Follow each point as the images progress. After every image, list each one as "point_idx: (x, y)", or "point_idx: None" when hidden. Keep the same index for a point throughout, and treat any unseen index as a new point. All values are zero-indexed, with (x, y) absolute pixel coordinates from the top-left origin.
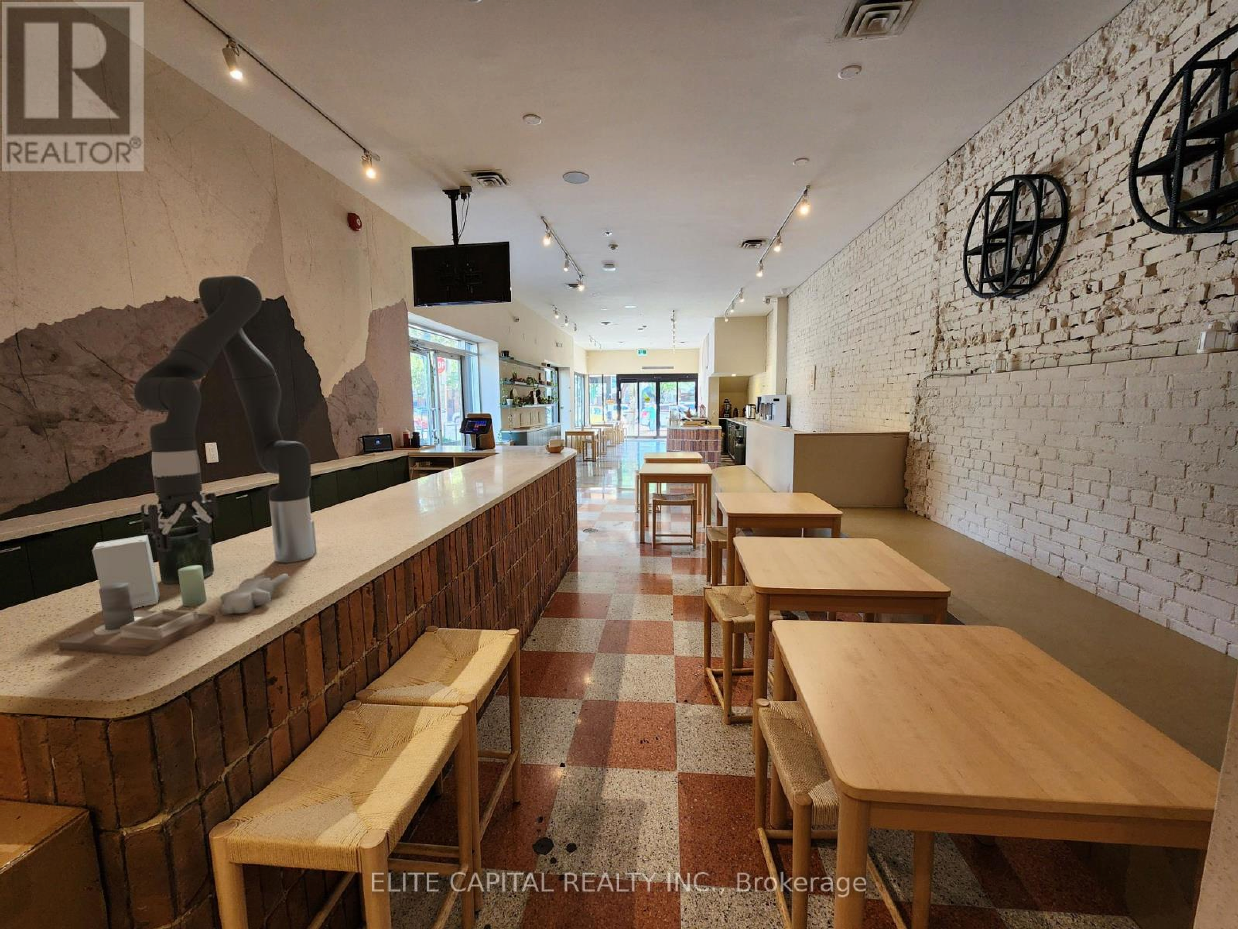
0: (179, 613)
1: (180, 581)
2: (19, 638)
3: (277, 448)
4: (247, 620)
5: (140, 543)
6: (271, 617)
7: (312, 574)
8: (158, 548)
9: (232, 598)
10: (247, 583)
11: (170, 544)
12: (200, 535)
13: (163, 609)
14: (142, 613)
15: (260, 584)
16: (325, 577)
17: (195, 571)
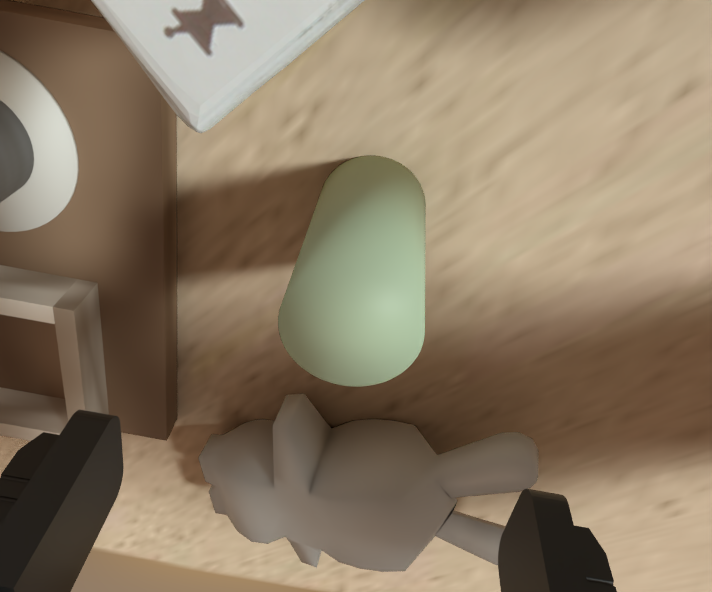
0: (67, 392)
1: (297, 259)
2: None
3: None
4: (203, 500)
5: (152, 76)
6: (232, 548)
7: (703, 516)
8: (32, 455)
9: (232, 496)
10: (340, 523)
11: (94, 539)
12: (528, 541)
13: (70, 315)
14: (125, 120)
15: (338, 560)
16: (635, 567)
17: (321, 371)
